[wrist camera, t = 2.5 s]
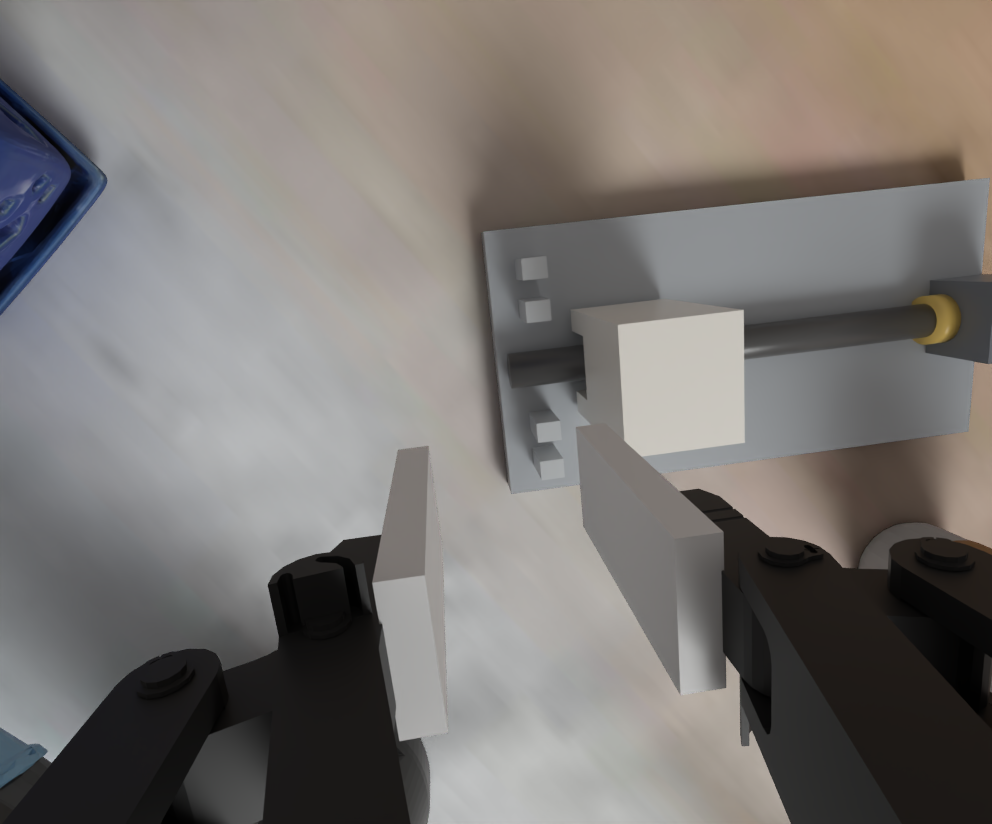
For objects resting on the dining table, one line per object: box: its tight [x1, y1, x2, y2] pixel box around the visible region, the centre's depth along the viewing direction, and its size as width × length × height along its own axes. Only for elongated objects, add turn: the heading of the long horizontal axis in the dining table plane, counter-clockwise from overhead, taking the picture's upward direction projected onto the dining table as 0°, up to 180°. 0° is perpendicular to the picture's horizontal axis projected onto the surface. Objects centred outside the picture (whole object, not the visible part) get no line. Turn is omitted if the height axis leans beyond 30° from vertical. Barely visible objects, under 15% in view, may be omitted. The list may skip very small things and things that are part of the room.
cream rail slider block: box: [570, 299, 745, 457], centre depth 28 cm, size 5×5×8 cm
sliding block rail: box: [481, 178, 992, 494], centre depth 32 cm, size 27×14×6 cm, turn 96°
